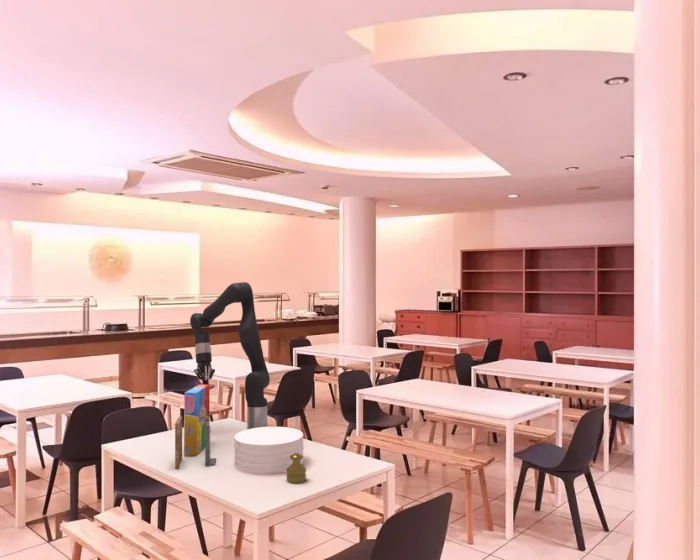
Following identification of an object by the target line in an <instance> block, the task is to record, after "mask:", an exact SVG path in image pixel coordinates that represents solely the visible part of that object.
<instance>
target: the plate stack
mask: <svg viewBox="0 0 700 560" xmlns="http://www.w3.org/2000/svg"><path fill="white" fill-rule="evenodd" d="M233 440H234V444H233V445H234V447H233V448H234V450H233V451H234V455H233V456H234V457H233V459H234V464H233V465H234V468H235V469H236V470H238V471H240V472H243V473H247V474H255V475H273V474H272V473H275V474H280V473H279V472H282V473H286V472H285V471H286V469H287V467H289V466H290V465H291V464H292V463H293V461H292V459H290V455H292V454H294V453H299V454H301V455H303V456H304V433H303V432H302V431H301V430H299V429H296V428H292V427H288V426H287V427H286V426H268V427H259V428H252V429H248V430H247V429H245V430H244V429H243V430H241V431H239V432H237V433H236V434H235V435H234V436H233ZM300 463H301V464H302V463H303V464H304V457H303V458H302V459H301V460H300ZM303 464H302V465H303Z"/></svg>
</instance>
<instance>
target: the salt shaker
mask: <svg viewBox="0 0 700 560" xmlns="http://www.w3.org/2000/svg"><path fill="white" fill-rule="evenodd" d="M302 458H303V459H304V454H303V455H301V454H299V453H294V454H292V455H290V459H292V461H293V463H292V464H291V465H290V466H289V467H287V469H286V471H287V472H286V475H285V476H286V482H288V483H290V482H291V484H299V483H298V482H301V483H303V482H302V481H304V482H306V480H307V473H306V472H307V467H306V466H305V465H303V464H301V463H300V460H301V459H302Z"/></svg>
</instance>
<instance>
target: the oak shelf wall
mask: <svg viewBox="0 0 700 560" xmlns="http://www.w3.org/2000/svg"><path fill="white" fill-rule="evenodd" d="M174 427H175V428H174V430H175V431H174V469H175V470H179V469H180V467H181V465H180V464H182V462H183V416H178V417H177V419H176V420H175V424H174ZM181 461H182V462H181Z"/></svg>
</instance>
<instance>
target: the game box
mask: <svg viewBox="0 0 700 560" xmlns="http://www.w3.org/2000/svg"><path fill="white" fill-rule="evenodd" d="M210 385H211V384H209V385H203V384H197V385H196V386H194V387H193V388H191V389H189V390H187V391H185V392H184V412H183V413H184V414H183V415H184V419H183V421H184V422H183V423H184V425H183V426H184V427H183V428H184V429H183V433H184V434H183V457H196V456H198V455H199V453H201V452H202V451H203V450H205V430H206V426H210V389H211V387H210Z"/></svg>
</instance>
